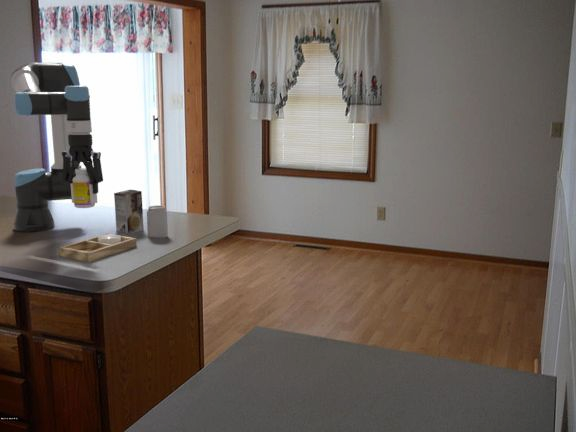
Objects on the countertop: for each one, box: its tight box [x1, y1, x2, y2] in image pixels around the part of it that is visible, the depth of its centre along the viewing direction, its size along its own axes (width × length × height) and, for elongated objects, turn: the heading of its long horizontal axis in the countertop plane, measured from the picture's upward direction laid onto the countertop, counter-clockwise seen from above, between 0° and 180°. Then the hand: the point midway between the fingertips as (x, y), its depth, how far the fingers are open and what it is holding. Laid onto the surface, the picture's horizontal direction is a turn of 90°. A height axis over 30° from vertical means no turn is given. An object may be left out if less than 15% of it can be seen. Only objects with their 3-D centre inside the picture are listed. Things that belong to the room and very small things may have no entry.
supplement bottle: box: [73, 167, 96, 209], centre depth 201 cm, size 7×7×13 cm
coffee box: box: [113, 189, 145, 234], centre depth 234 cm, size 9×6×16 cm
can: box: [146, 205, 169, 238], centre depth 227 cm, size 8×8×12 cm
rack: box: [58, 233, 138, 263], centre depth 206 cm, size 14×22×4 cm, turn 151°
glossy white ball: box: [98, 234, 122, 245], centre depth 210 cm, size 8×8×4 cm
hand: (84, 202), depth 202 cm, fingers closed on supplement bottle, 7 cm apart
